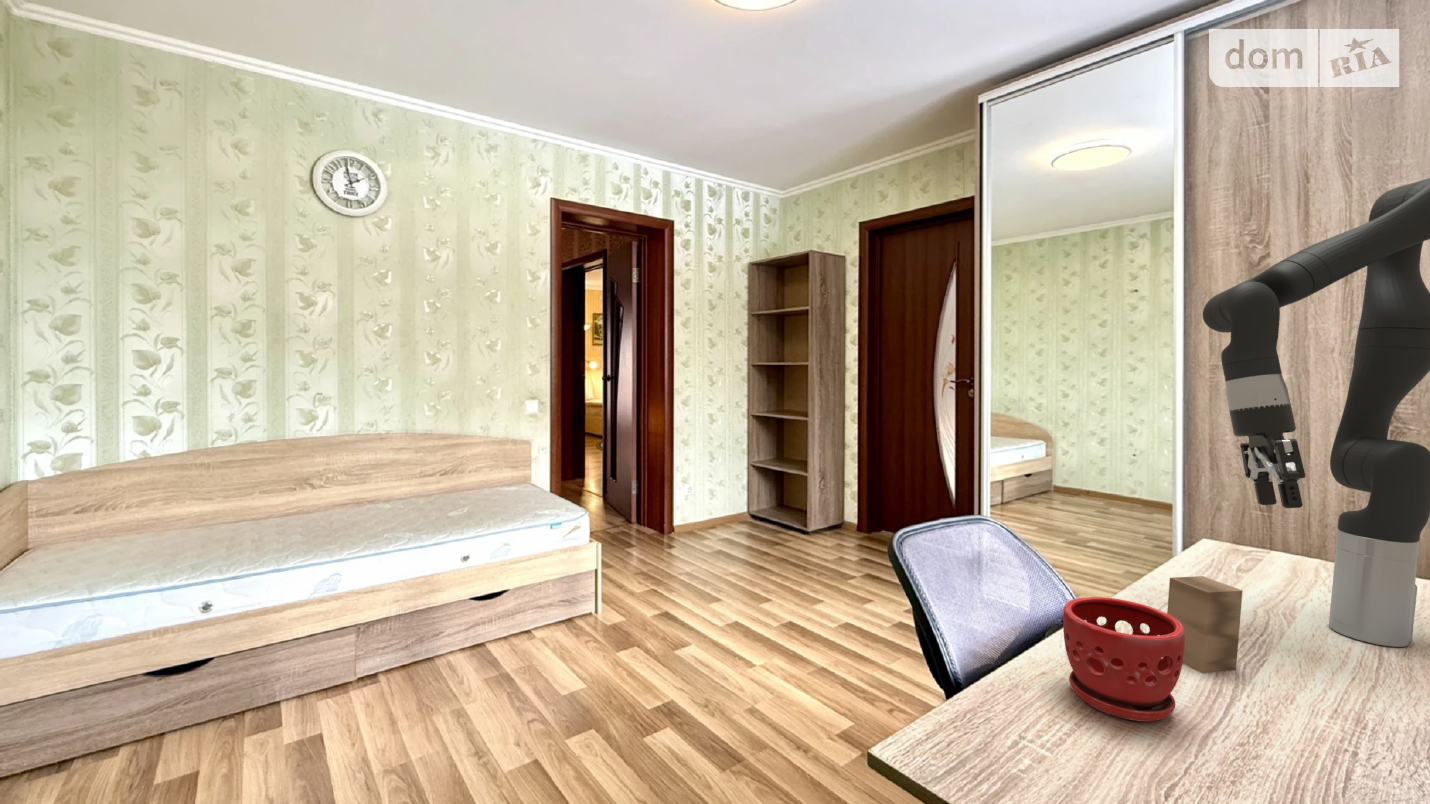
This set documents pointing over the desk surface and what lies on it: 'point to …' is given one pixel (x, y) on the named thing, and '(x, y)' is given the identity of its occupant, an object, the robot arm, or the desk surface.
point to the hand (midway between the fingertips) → (1279, 506)
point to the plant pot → (1123, 657)
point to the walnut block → (1207, 621)
